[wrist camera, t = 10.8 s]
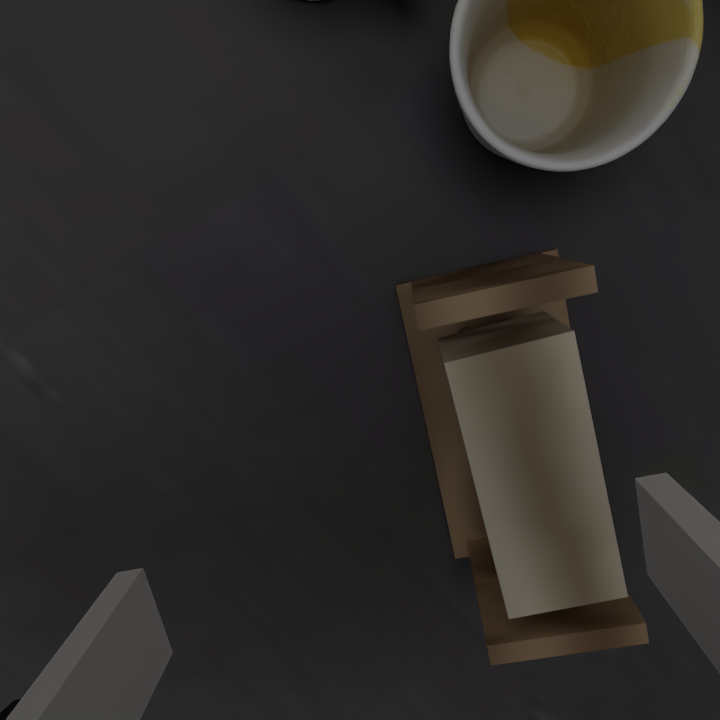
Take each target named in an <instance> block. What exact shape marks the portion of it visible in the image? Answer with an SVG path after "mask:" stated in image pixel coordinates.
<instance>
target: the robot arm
mask: <svg viewBox="0 0 720 720" xmlns="http://www.w3.org/2000/svg"><path fill="white" fill-rule="evenodd" d="M635 483H636V491H637V499H638V506H639V514H640V522H641V530H642V538H643V546H644V553H645V561H646V569H647V574H648V576H649V577H650V578H651V580H652V581H653V583H654V584H655V585H656V587H657V588H658V589H659V591H660V592H661V594H662V595H663V596H664V598H665V599H666V600H667V602H668V603H669V605H670V606H671V607H672V609H673V610H674V611H675V613H676V614H677V616H678V617H679V618H680V620H681V621H682V622H683V624H684V625H685V627H686V628H687V629H688V631H689V632H690V633H691V635H692V636H693V638H694V639H695V640H696V642H697V643H698V644H699V646H700V647H701V649H702V650H703V651H704V653H705V654H706V655H707V657H708V658H709V660H710V661H711V662H712V664H713V665H714V666H715V668H716V669H717V671H718V672H719V673H720V522H719V521H718V520H717V519H716V518H715V517H714V516H713V515H712V514H711V513H710V512H708V511H707V510H706V509H705V508H704V507H703V506H702V505H701V504H700V503H699V502H698V501H696V500H695V499H694V498H693V497H692V496H691V495H690V494H689V493H688V492H687V491H686V490H685V489H683V488H682V487H681V486H680V485H679V484H678V483H677V482H676V481H675V480H674V479H673V478H671V477H670V476H669V475H668V474H667V473H662V474H656V475H651V476H645V477H640V478H635ZM172 653H173V652H172V649H171V646H170V643H169V640H168V637H167V634H166V632H165V629H164V626H163V623H162V620H161V617H160V615H159V612H158V609H157V606H156V603H155V600H154V597H153V595H152V592H151V589H150V586H149V583H148V580H147V578H146V575H145V572H144V569H143V568H140V569H134V570H129V571H123V572H118V573H116V574H115V576H114V577H113V578H112V580H111V581H110V582H109V584H108V585H107V586H106V588H105V589H104V590H103V592H102V593H101V594H100V596H99V597H98V598H97V600H96V601H95V602H94V603H93V605H92V606H91V607H90V609H89V610H88V611H87V613H86V614H85V615H84V617H83V618H82V619H81V621H80V622H79V623H78V625H77V626H76V627H75V629H74V630H73V631H72V633H71V634H70V635H69V637H68V638H67V639H66V640H65V642H64V643H63V644H62V646H61V647H60V648H59V650H58V651H57V652H56V654H55V655H54V656H53V658H52V659H51V660H50V662H49V663H48V664H47V666H46V667H45V668H44V670H43V671H42V672H41V674H40V675H39V676H38V677H37V679H36V680H35V681H34V683H33V684H32V685H31V687H30V688H29V689H28V691H27V692H26V693H25V695H24V696H23V697H22V699H19V700H14V701H13V702H12V703H11V704H10V705H9V706H8V707H6V708H5V709H4V710H3V711H2V712H1V713H0V720H140V719H141V717H142V715H143V713H144V711H145V709H146V707H147V704H148V702H149V700H150V698H151V696H152V694H153V692H154V690H155V688H156V686H157V684H158V682H159V680H160V678H161V676H162V674H163V672H164V670H165V668H166V666H167V664H168V662H169V660H170V658H171V655H172Z"/></svg>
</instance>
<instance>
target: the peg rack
mask: <svg viewBox="0 0 720 720" xmlns="http://www.w3.org/2000/svg"><path fill="white" fill-rule="evenodd" d="M396 290H397V295H398V299H399V304H400V308H401V313H402V317H403V322H404V326H405V331H406V336H407V340H408V345H409V349H410V354H411V358H412V363H413V368H414V372H415V377H416V381H417V386H418V390H419V395H420V399H421V404H422V409H423V413H424V418H425V422H426V427H427V431H428V436H429V441H430V445H431V450H432V454H433V459H434V463H435V468H436V473H437V477H438V482H439V486H440V491H441V495H442V500H443V504H444V509H445V514H446V518H447V523H448V527H449V532H450V536H451V541H452V546H453V550H454V555H455V559H457V558H463V557H470V562H471V567H472V572H473V577H474V583H475V588H476V593H477V598H478V603H479V608H480V614H481V619H482V624H483V629H484V634H485V639H486V645H487V649H488V654H489V659H490V663H491V665H497V664H505V663H512V662H519V661H526V660H533V659H540V658H547V657H554V656H561V655H569V654H576V653H583V652H590V651H597V650H604V649H611V648H618V647H625V646H633V645H640V644H647V643H649V640H648V633H647V627H646V622H645V620H644V619H643V617H642V615H641V614H640V612H639V610H638V609H637V607H636V605H635V604H634V602H633V600H632V599H631V597H630V595H629V594H628V592H627V595H628V597H625V598H620V599H614V600H609V601H604V602H598V603H593V604H588V605H582V606H577V607H572V608H566V609H561V610H555V611H550V612H545V613H539V614H534V615H529V616H523V617H518V618H513V619H509V618H508V614H507V610H506V607H505V603H504V599H503V595H502V591H501V588H500V584H499V580H498V576H497V572H496V569H495V565H494V561H493V557H492V553H491V549H490V545H489V541H488V537H487V533H486V529H485V526H484V522H483V518H482V514H481V510H480V506H479V502H478V498H477V494H476V490H475V486H474V482H473V478H472V474H471V470H470V466H469V462H468V458H467V454H466V450H465V446H464V442H463V439H462V435H461V431H460V427H459V423H458V419H457V415H456V411H455V407H454V403H453V399H452V395H451V391H450V387H449V383H448V379H447V375H446V371H445V367H444V363H443V359H442V355H441V352H440V348H439V344H438V340H437V338H439V337H443V336H447V335H451V334H455V333H459V332H463V331H467V330H471V329H475V328H479V327H483V326H487V325H490V324H494V323H498V322H502V321H506V320H510V319H514V318H518V317H522V316H526V315H530V314H534V313H538V312H542V311H544V312H546V313H547V314H549V315H550V316H552V317H554V318H555V319H557V320H558V321H560V322H561V323H563V324H564V325H566V326H567V327H569V328H570V325H569V318H568V312H567V306H566V299H568V298H573V297H578V296H582V295H587V294H592V293H596V292H598V289H597V282H596V275H595V268H594V265H591V264H586V263H582V262H578V261H573V260H569V259H565V258H560V257H559V255H558V249H550V250H546V251H541V252H537V253H533V254H528V255H524V256H519V257H515V258H510V259H506V260H502V261H497V262H493V263H488V264H484V265H479V266H475V267H471V268H466V269H462V270H457V271H453V272H448V273H444V274H439V275H435V276H431V277H426V278H422V279H417V280H413V281H408V282H404V283H400V284H396Z"/></svg>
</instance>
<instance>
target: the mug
mask: <svg viewBox="0 0 720 720" xmlns="http://www.w3.org/2000/svg"><path fill="white" fill-rule="evenodd" d="M702 37H703V4H702V0H458V2H457V5H456V7H455V11H454V15H453V20H452V25H451V30H450V44H449V59H450V69H451V76H452V80H453V85H454V89H455V93H456V96H457V100H458V103H459V105H460V108H461V110H462V113H463V116H464V119H465V121H466V123H467V125H468V127H469V129H470V131H471V132H472V134H473V135H474V136H475V138H476V139H477V140H478V141H479V142H480V143H481V144H482V145H483V146H484V147H486V148H487V149H488V150H489V151H491V152H493V153H495V154H496V155H498V156H501V157H503V158H506V159H508V160H511V161H513V162H516V163H518V164H521V165H524V166H527V167H531V168H536V169H541V170H546V171H558V172H563V171H578V170H584V169H589V168H593V167H597V166H600V165H603V164H606V163H608V162H610V161H613V160H615V159H617V158H619V157H621V156H623V155H625V154H626V153H628V152H630V151H631V150H633V149H634V148H636V147H637V146H639V145H640V144H641V143H643V142H644V141H645V140H646V139H648V138H649V137H650V136H651V135H652V134H653V133H654V132H655V131H656V130H657V129H658V128H659V127H660V126H661V125H662V124H663V123H664V122H665V121H666V120H667V118H668V117H669V116H670V114H671V113H672V112H673V110H674V109H675V107H676V106H677V104H678V103H679V101H680V100H681V98H682V97H683V95H684V93H685V91H686V90H687V88H688V85H689V83H690V81H691V79H692V76H693V73H694V70H695V67H696V64H697V61H698V58H699V53H700V49H701V43H702Z"/></svg>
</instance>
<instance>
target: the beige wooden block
mask: <svg viewBox="0 0 720 720" xmlns="http://www.w3.org/2000/svg"><path fill="white" fill-rule="evenodd" d="M437 340H438V344H439V348H440V352H441V355H442V359H443V363H444V367H445V371H446V375H447V379H448V383H449V387H450V391H451V395H452V399H453V403H454V407H455V411H456V415H457V419H458V423H459V427H460V431H461V435H462V439H463V442H464V446H465V450H466V454H467V458H468V462H469V466H470V470H471V474H472V478H473V482H474V486H475V490H476V494H477V498H478V502H479V506H480V510H481V514H482V518H483V522H484V526H485V529H486V533H487V537H488V541H489V545H490V549H491V553H492V557H493V561H494V565H495V569H496V572H497V576H498V580H499V584H500V588H501V591H502V595H503V599H504V603H505V607H506V610H507V614H508V618H509V619H513V618H518V617H523V616H529V615H534V614H539V613H545V612H550V611H555V610H561V609H566V608H572V607H577V606H582V605H588V604H593V603H598V602H604V601H609V600H614V599H620V598H625V597H628V595H627V590H626V585H625V580H624V575H623V570H622V565H621V560H620V555H619V550H618V545H617V540H616V535H615V530H614V525H613V521H612V516H611V511H610V506H609V501H608V496H607V491H606V486H605V481H604V476H603V471H602V466H601V461H600V456H599V451H598V446H597V441H596V436H595V431H594V426H593V421H592V416H591V411H590V407H589V402H588V397H587V392H586V387H585V382H584V377H583V372H582V367H581V362H580V357H579V352H578V347H577V342H576V337H575V332H574V330H572V329H571V328H569V327H567V326H566V325H564V324H563V323H561V322H560V321H558V320H557V319H555V318H554V317H552V316H550V315H549V314H547V313H546V312H544V311H542V312H538V313H534V314H530V315H526V316H522V317H518V318H514V319H510V320H506V321H502V322H498V323H494V324H490V325H487V326H483V327H479V328H475V329H471V330H467V331H463V332H459V333H455V334H451V335H447V336H443V337H439V338H437Z"/></svg>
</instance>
